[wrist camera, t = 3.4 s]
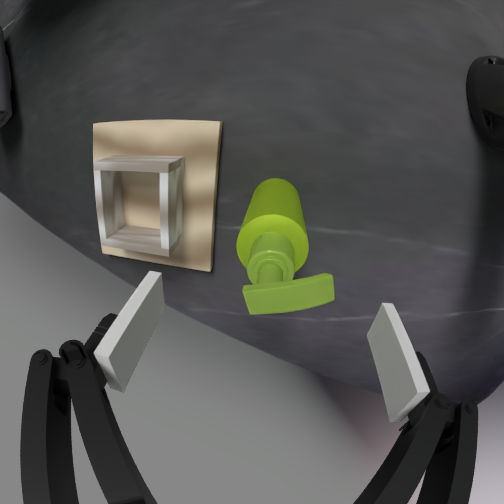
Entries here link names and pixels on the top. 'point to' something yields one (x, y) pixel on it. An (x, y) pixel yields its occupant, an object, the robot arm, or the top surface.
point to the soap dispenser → (278, 253)
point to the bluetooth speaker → (4, 84)
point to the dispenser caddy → (157, 189)
